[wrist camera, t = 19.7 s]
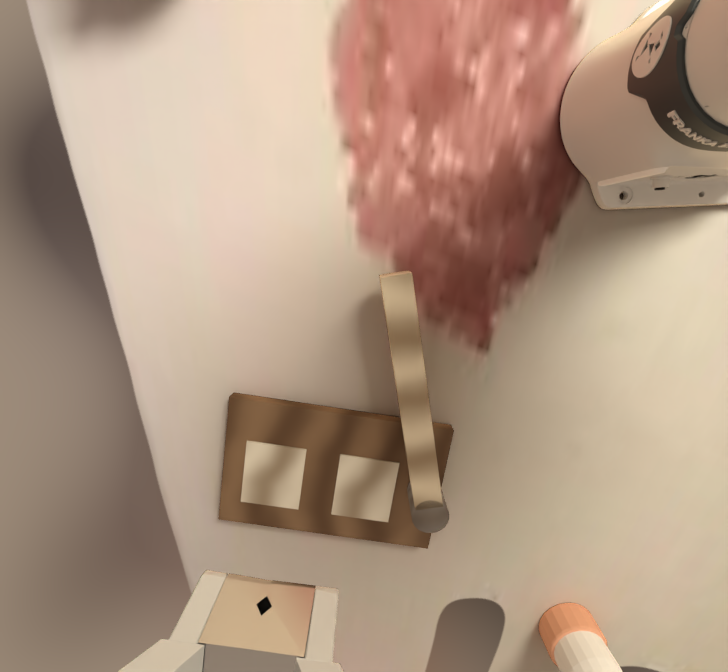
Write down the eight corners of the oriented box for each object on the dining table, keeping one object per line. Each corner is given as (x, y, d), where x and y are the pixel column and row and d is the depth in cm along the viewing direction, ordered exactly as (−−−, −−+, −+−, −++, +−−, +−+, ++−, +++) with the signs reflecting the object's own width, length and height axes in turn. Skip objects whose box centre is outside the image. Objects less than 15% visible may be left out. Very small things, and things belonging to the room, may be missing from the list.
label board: (451, 424, 47) (455, 433, 45) (426, 539, 51) (428, 552, 49) (233, 392, 47) (227, 399, 45) (222, 511, 50) (216, 522, 48)
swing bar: (443, 506, 47) (451, 530, 43) (410, 511, 47) (414, 535, 43) (412, 269, 41) (417, 271, 37) (374, 275, 41) (375, 278, 37)
